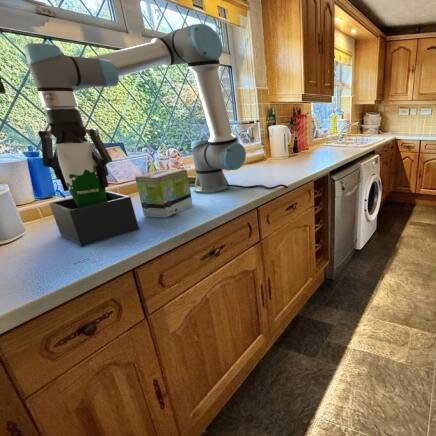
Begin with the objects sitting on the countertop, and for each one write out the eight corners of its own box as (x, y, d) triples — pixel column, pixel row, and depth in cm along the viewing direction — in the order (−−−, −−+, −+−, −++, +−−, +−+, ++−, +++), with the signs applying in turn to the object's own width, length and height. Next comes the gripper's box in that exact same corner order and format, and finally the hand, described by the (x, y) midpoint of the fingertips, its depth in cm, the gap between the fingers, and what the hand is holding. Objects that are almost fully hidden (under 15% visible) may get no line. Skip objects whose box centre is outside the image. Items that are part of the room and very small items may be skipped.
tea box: (168, 218, 106) (158, 176, 101) (143, 217, 108) (133, 176, 103) (194, 205, 120) (186, 168, 114) (171, 204, 122) (163, 168, 116)
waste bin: (116, 220, 105) (107, 190, 102) (139, 228, 97) (130, 196, 93) (61, 236, 93) (48, 203, 89) (81, 247, 85) (69, 210, 81)
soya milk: (107, 197, 98) (88, 133, 91) (111, 202, 91) (91, 134, 84) (72, 203, 92) (50, 135, 85) (74, 209, 86) (50, 137, 79)
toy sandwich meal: (210, 184, 152) (209, 175, 151) (181, 188, 148) (179, 178, 146) (209, 179, 163) (208, 171, 162) (182, 182, 159) (181, 173, 157)
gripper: (4, 110, 77) (36, 194, 85) (99, 107, 81) (121, 188, 89) (25, 110, 84) (53, 188, 92) (112, 107, 88) (132, 182, 96)
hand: (87, 188), depth 90 cm, fingers closed on soya milk, 9 cm apart
